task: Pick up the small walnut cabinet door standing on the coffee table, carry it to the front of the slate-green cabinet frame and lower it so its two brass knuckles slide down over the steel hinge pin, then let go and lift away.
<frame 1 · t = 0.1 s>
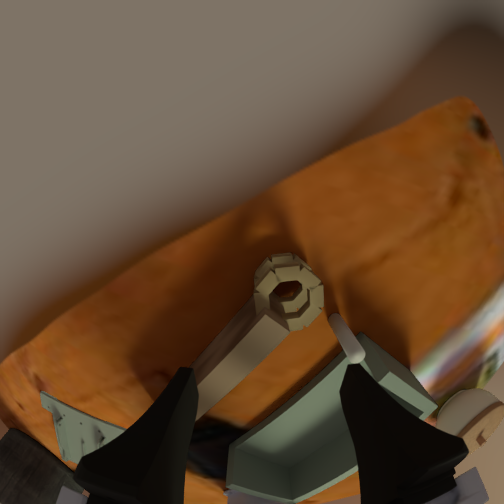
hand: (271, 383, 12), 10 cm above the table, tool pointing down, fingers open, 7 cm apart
planter: (45, 460, 31), on the table
lidded jar: (452, 404, 26), on the table
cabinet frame: (318, 415, 25), on the table
metal bracket: (90, 434, 27), on the table
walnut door: (208, 361, 23), on the table
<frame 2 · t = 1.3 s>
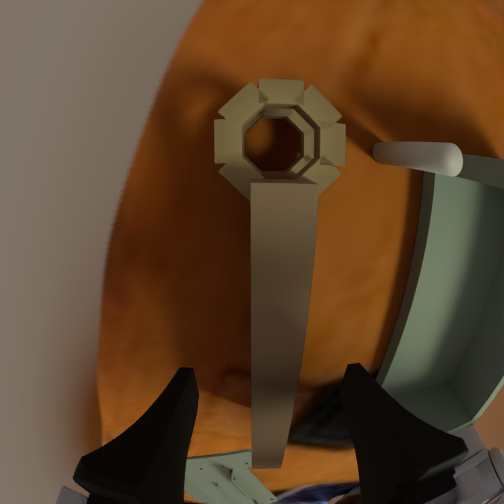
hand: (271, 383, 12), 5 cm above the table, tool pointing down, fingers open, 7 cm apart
lucky cat figurine: (357, 490, 31), on the table
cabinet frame: (447, 299, 16), on the table
metal bracket: (221, 470, 26), on the table
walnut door: (268, 321, 16), on the table
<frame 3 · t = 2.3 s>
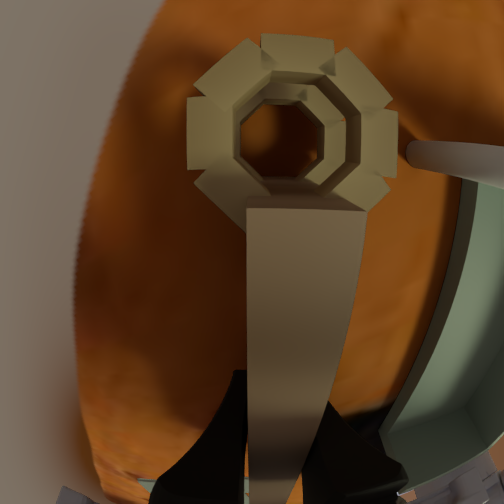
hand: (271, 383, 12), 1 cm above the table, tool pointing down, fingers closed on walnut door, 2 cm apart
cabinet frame: (473, 324, 12), on the table
metal bracket: (215, 492, 23), on the table
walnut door: (269, 362, 13), on the table, touching gripper
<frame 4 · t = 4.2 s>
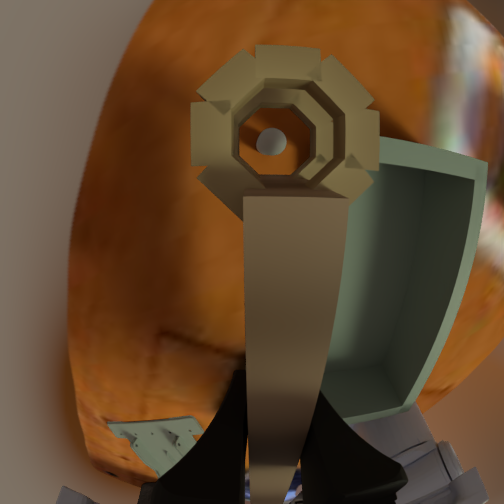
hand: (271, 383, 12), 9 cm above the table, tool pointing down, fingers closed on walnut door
planter: (188, 496, 41), on the table
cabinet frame: (361, 278, 20), on the table
metal bracket: (172, 440, 30), on the table
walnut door: (268, 354, 14), point 7 cm above the table, touching gripper
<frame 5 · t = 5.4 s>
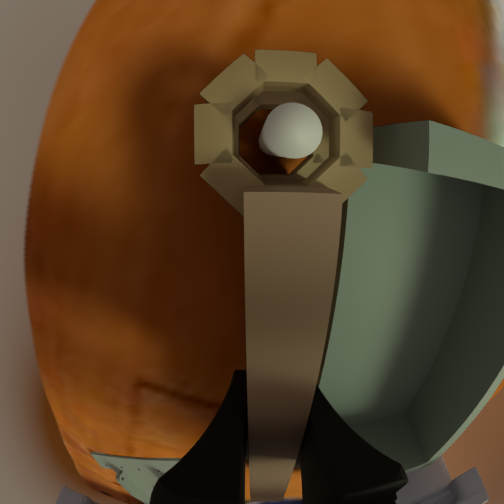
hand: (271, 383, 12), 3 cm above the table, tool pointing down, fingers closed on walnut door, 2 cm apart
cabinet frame: (394, 322, 14), on the table
metal bracket: (161, 473, 24), on the table
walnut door: (268, 350, 14), on the table, touching gripper
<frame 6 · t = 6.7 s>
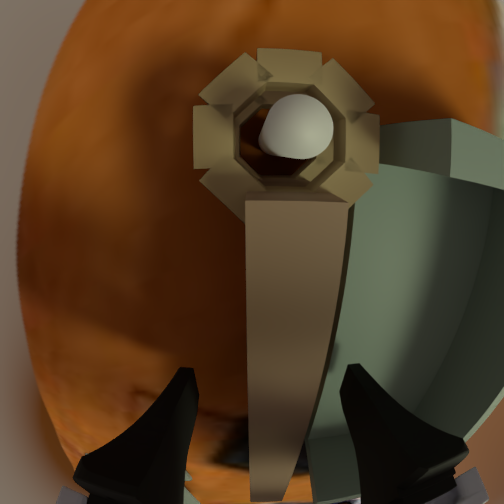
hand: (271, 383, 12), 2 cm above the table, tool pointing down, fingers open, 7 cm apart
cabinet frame: (399, 330, 13), on the table
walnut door: (268, 352, 14), on the table
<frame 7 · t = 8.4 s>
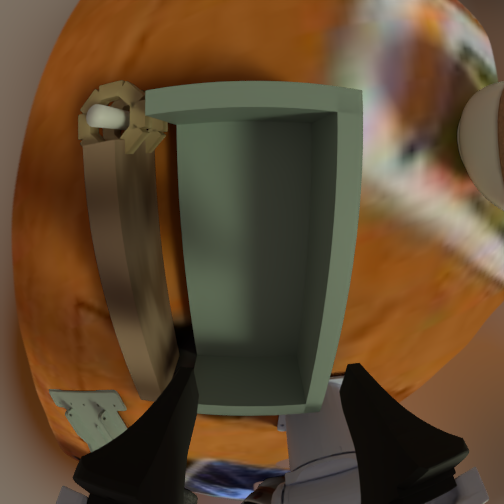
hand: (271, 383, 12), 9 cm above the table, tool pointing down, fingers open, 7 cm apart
lucky cat figurine: (278, 483, 36), on the table
lidded jar: (476, 143, 16), on the table
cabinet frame: (250, 251, 19), on the table
metal bracket: (105, 416, 29), on the table
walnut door: (152, 263, 20), on the table
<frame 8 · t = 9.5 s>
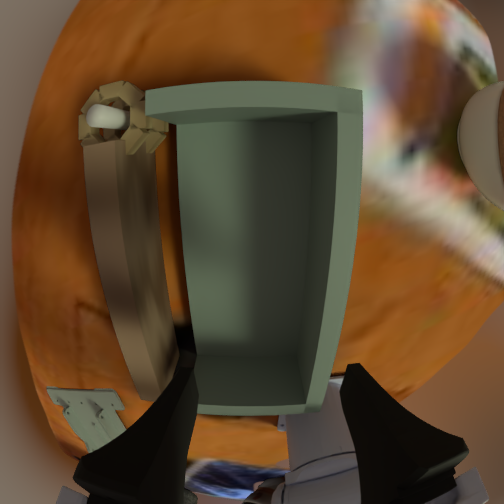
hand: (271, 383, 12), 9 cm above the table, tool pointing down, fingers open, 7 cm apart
lucky cat figurine: (278, 483, 36), on the table
lidded jar: (476, 143, 16), on the table
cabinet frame: (250, 251, 19), on the table
metal bracket: (102, 414, 29), on the table
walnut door: (152, 263, 20), on the table
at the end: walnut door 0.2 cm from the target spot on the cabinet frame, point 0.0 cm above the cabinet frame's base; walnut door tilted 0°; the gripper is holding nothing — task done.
